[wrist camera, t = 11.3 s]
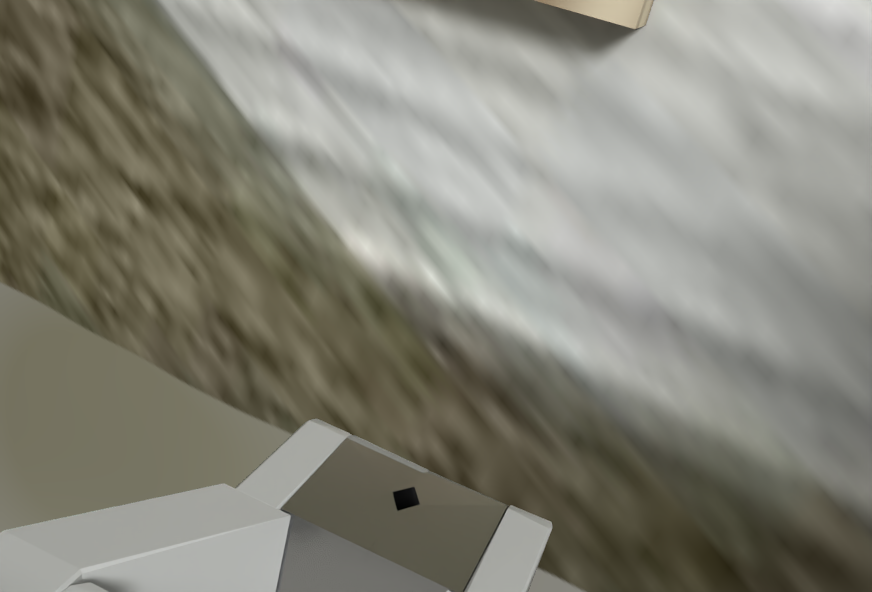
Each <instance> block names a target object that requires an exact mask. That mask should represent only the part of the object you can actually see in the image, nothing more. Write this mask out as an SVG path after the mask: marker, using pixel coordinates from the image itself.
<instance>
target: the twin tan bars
mask: <svg viewBox="0 0 872 592" xmlns="http://www.w3.org/2000/svg"><path fill="white" fill-rule="evenodd" d="M534 1H538V2H541V3H545V4H548V5H552V6H555V7H559V8H562V9H566V10H569V11H573V12H576V13H580V14H583V15H587V16H590V17H594V18H597V19H601V20H604V21H608V22H611V23H615V24H618V25H622V26H625V27H629V28H632V29H637V28H640V27H643V26H645V25H646V22H647V19H648V16H649V13H650V10H651V7H652V4H653V1H654V0H534Z"/></svg>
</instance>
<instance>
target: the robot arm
mask: <svg viewBox="0 0 872 592" xmlns="http://www.w3.org/2000/svg"><path fill="white" fill-rule="evenodd" d="M551 530H552V522H551V521H548V520H546V519H543V518H541V517H538V516H536V515H534V514H531V513H529V512H526V511H524V510H521V509H519V508H516V507H514V506H512V505H511V506H510V507H509V506H508V505H505V504H503V503H501V502H499V501H496V500H494V499H492V498H489V497H487V496H485V495H483V494H480V493H478V492H476V491H473V490H471V489H469V488H467V487H464V486H462V485H460V484H457V483H455V482H453V481H451V480H448V479H446V478H444V477H441V476H439V475H437V474H435V473H432V472H430V471H429V470H427V469H425V468H423V467H421V466H419V465H417V464H414V463H412V462H410V461H408V460H406V459H404V458H402V457H400V456H397V455H395V454H393V453H391V452H389V451H387V450H385V449H383V448H380V447H378V446H376V445H374V444H372V443H370V442H368V441H366V440H363V439H361V438H359V437H357V436H355V435H354V436H352V435H351V434H350V433H348V432H345V431H343V430H341V429H339V428H337V427H334V426H332V425H330V424H328V423H326V422H323V421H321V420H319V419H313V420H309V421H307V422H305V423H304V424H303V425H302V426H301V427H300V428H299V429H298V430H297V431H296V432H295V433H294V434H292V435H291V436H290V437H289V438H288V439H287V440H286V441H285V442H284V443H283V444H282V445H281V446H280V447H279V448H277V449H276V451H274V452H273V453H272V454H271V455H270V456H269V457H268V458H267V459H266V460H265V461H263V462H262V464H260V465H259V466H258V467H257V468H256V469H255V470H254V471H253V472H252V473H251V474H250V475H248V476H247V477H246V478H245V479H244V480H243V481H242V482H241V483H240V484H239V485H238V486H237V487H236V488H232V487H231V486H228V485H226V484H224V483H222V484H218V485H213V486H208V487H204V488H200V489H194V490H190V491H185V492H181V493H176V494H171V495H167V496H163V497H158V498H153V499H148V500H143V501H139V502H134V503H130V504H125V505H120V506H115V507H111V508H107V509H102V510H97V511H92V512H88V513H83V514H78V515H74V516H69V517H64V518H60V519H55V520H50V521H46V522H41V523H37V524H32V525H27V526H23V527H18V528H13V529H8V530H4V531H2V532H1V533H0V592H528V591H529V588H530V586H531V583H532V580H533V578H534V575H535V572H536V570H537V567H538V564H539V562H540V559H541V556H542V554H543V551H544V549H545V546H546V543H547V541H548V538H549V535H550V533H551Z"/></svg>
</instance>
